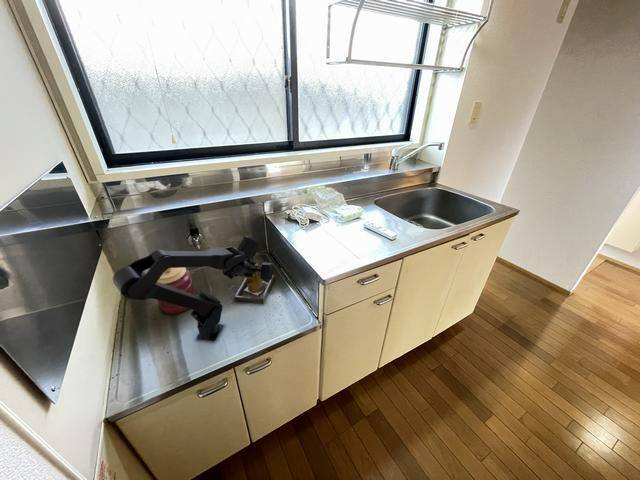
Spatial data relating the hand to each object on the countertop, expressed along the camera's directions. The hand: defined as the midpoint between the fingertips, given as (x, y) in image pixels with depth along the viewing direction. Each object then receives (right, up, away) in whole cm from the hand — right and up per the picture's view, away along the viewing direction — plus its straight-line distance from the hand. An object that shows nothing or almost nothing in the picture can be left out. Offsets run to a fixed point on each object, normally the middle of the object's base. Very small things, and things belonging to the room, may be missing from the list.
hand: (255, 272), depth 106 cm
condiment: (0, -7, +3) cm, 8 cm away
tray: (0, -7, +2) cm, 8 cm away
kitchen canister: (-29, -11, -5) cm, 31 cm away
